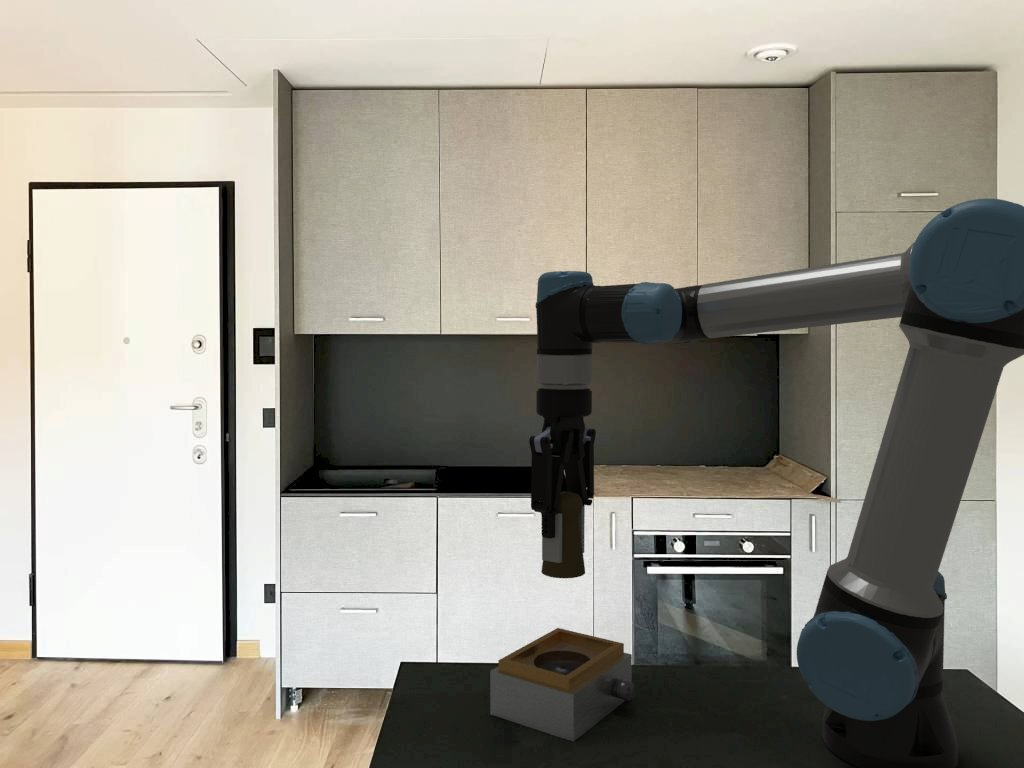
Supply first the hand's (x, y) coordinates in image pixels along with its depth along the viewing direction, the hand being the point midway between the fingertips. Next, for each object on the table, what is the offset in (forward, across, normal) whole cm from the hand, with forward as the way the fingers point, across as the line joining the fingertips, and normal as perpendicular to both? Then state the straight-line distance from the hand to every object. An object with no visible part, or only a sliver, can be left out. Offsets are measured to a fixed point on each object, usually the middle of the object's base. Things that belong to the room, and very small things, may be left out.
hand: (563, 555), depth 110 cm
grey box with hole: (+21, 0, +1) cm, 21 cm away
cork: (+2, 0, 0) cm, 2 cm away
